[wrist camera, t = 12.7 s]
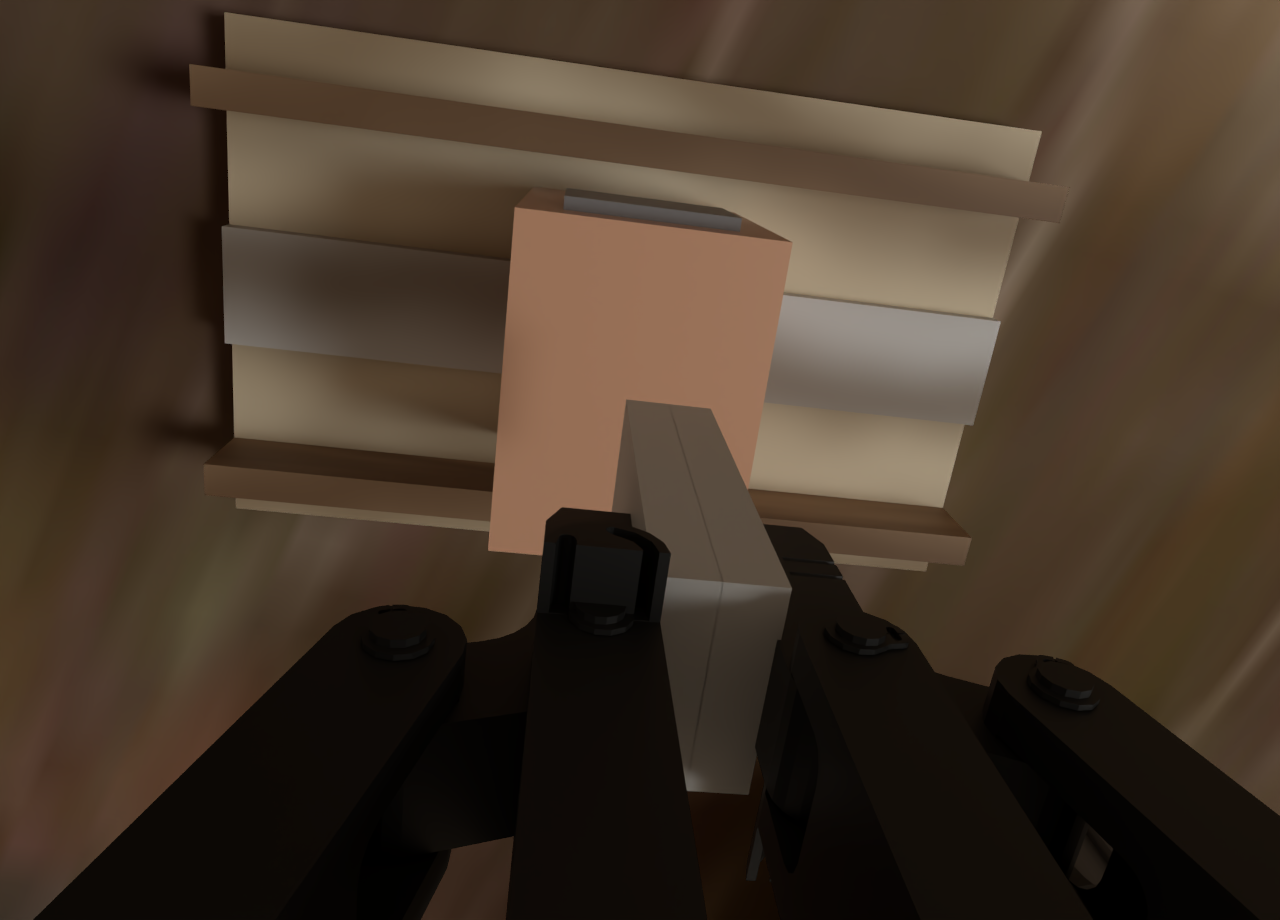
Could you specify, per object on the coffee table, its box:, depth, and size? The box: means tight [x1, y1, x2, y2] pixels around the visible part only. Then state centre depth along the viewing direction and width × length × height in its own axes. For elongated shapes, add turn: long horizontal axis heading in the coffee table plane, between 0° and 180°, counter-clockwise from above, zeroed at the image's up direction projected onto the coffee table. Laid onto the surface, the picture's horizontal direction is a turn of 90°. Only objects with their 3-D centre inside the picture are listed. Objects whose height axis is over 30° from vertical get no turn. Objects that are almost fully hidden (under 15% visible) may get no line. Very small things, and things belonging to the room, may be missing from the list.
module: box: [488, 187, 793, 555], centre depth 24 cm, size 8×6×8 cm
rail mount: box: [189, 12, 1070, 571], centre depth 28 cm, size 15×24×4 cm, turn 83°
